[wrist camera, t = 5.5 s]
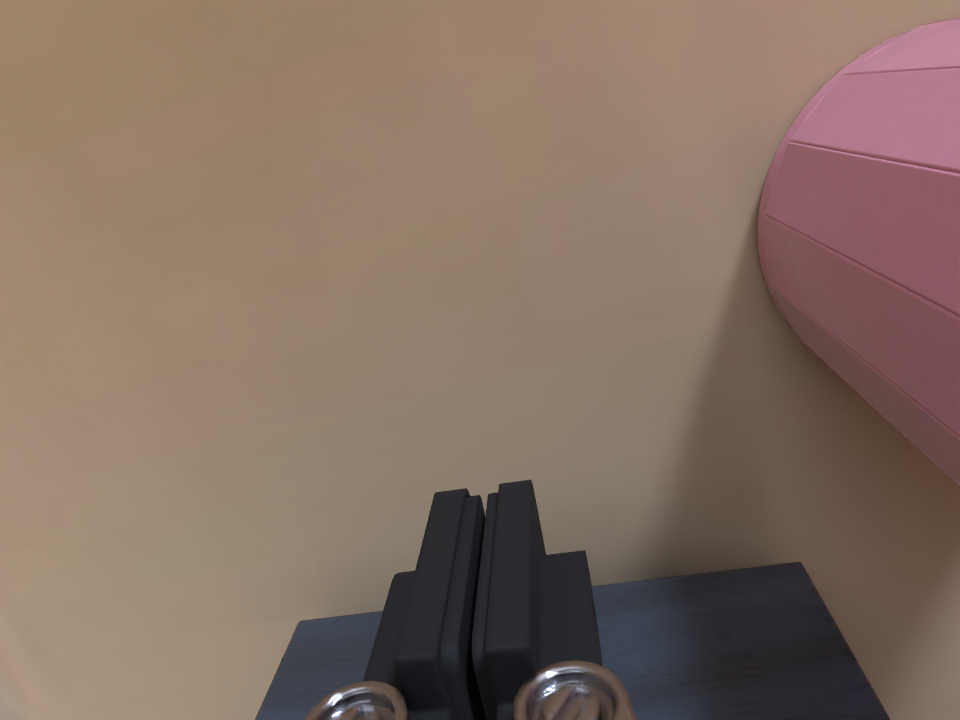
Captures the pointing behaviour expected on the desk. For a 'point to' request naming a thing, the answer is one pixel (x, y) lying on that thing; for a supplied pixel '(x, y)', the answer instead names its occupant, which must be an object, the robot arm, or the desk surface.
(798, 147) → the pink cup
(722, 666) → the drawer
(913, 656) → the desk surface
